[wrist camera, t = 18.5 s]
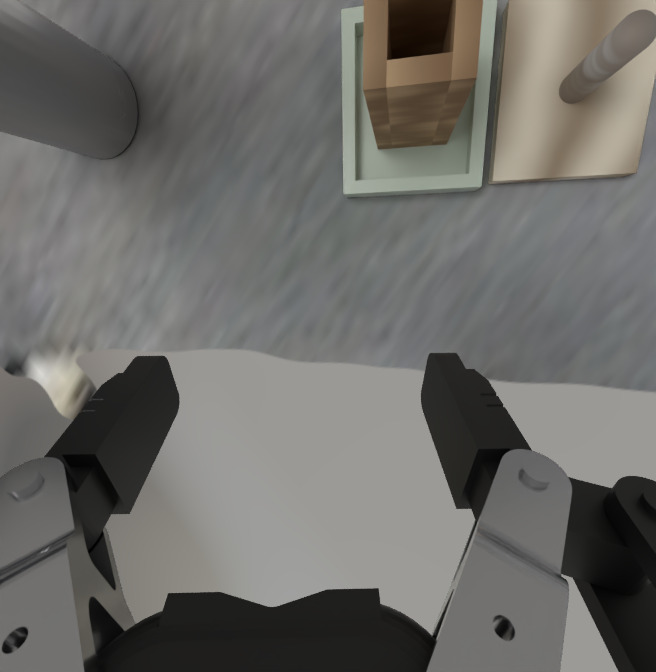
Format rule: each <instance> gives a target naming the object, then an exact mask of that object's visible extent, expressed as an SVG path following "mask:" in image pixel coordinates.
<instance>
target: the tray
mask: <svg viewBox="0 0 656 672" xmlns="http://www.w3.org/2000/svg"><path fill="white" fill-rule="evenodd" d="M496 9H497V0H483V9H482V21H481V34H480V46H479V58H478V71H477V79H476V81H475V83H474V85H473V87H472V90H471V92H470V94H469V96H468V98H467V101H466V103H465V105H464V107H463V109H462V111H461V114H460V116H459V118H458V120H457V122H456V125H455V127H454V129H453V131H452V133H451V136H450V138H449V140H448V142H447V144H446V145H432V146H419V147H405V148H392V149H378V148H377V144H376V140H375V136H374V132H373V128H372V124H371V120H370V116H369V112H368V108H367V104H366V100H365V96H364V92H363V25H364V6H359V7H353V8H347V9H341V23H342V113H343V194H344V195H345V196H346V197H347V198H355V197H374V196H393V195H412V194H431V193H450V192H469V191H476V190H477V189H479V188H480V187H482V175H483V163H484V151H485V139H486V127H487V116H488V104H489V92H490V80H491V68H492V56H493V44H494V33H495V21H496Z"/></svg>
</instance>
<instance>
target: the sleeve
mask: <svg viewBox="0 0 656 672" xmlns="http://www.w3.org/2000/svg"><path fill="white" fill-rule="evenodd" d="M482 9H483V0H364V25H363V92H364V96H365V100H366V104H367V108H368V112H369V116H370V120H371V124H372V128H373V132H374V136H375V140H376V144H377V148H378V149H392V148H405V147H419V146H432V145H446V144H447V142H448V140H449V138H450V136H451V133H452V131H453V129H454V127H455V125H456V122H457V120H458V118H459V116H460V114H461V111H462V109H463V107H464V105H465V103H466V101H467V98H468V96H469V94H470V92H471V90H472V87H473V85H474V83H475V81H476V79H477V71H478V58H479V46H480V34H481V21H482Z"/></svg>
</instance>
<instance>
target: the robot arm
mask: <svg viewBox="0 0 656 672" xmlns="http://www.w3.org/2000/svg"><path fill="white" fill-rule="evenodd" d="M137 117H138V111H137V101H136V97H135V92H134V90H133V87H132V85H131V82H130V80H129V79H128V77H127V75H126V74H125V72H124V71H123V70H122V69H121V68H120V66H119V65H118V64H117V63H115V62H114V61H113V60H111V59H110V58H108V57H107V56H105V55H104V54H102V53H101V52H99V51H97V50H96V49H94V48H93V47H91V46H89V45H88V44H86V43H85V42H83V41H82V40H80V39H78V38H77V37H76V36H74V35H73V34H71V33H69V32H68V31H66V30H65V29H63V28H62V27H60V26H58V25H57V24H55V23H54V22H52V21H51V20H49V19H47V18H46V17H44V16H43V15H41V14H40V13H38V12H36V11H35V10H33V9H32V8H30V7H29V6H27V5H25V4H24V3H22V2H21V1H19V0H0V131H1V132H4V133H8V134H11V135H15V136H18V137H22V138H25V139H29V140H33V141H36V142H40V143H43V144H47V145H50V146H54V147H57V148H60V149H64V150H68V151H71V152H75V153H78V154H82V155H85V156H89V157H93V158H98V159H109V158H112V157H115V156H117V155H119V154H120V153H121V152H123V151H124V150H125V149H126V147H127V146H128V145H129V144H130V142H131V140H132V138H133V136H134V133H135V129H136V126H137ZM421 404H422V409H423V413H424V415H425V418H426V421H427V424H428V427H429V430H430V433H431V436H432V439H433V442H434V445H435V447H436V450H437V453H438V456H439V459H440V462H441V465H442V468H443V471H444V474H445V477H446V480H447V482H448V485H449V488H450V491H451V494H452V497H453V500H454V503H455V506H456V508H457V509H468V508H469V509H472V511H473V514H474V517H475V522H474V524H473V527H472V530H471V532H470V535H469V538H468V540H467V543H466V546H465V548H464V551H463V554H462V557H461V559H460V562H459V565H458V567H457V570H456V573H455V575H454V578H453V581H452V583H451V586H450V589H449V591H448V594H447V596H446V599H445V602H444V604H443V606H442V609H441V612H440V614H439V617H438V619H437V622H436V625H435V627H434V630H433V632H432V635H430V634H429V633H428V632H427V631H426V630H425V629H424V628H423V627H422V626H420V625H419V624H418V623H417V622H415V621H414V620H413V619H411V618H409V617H408V616H406V615H405V614H403V613H401V612H399V611H397V610H395V609H392V608H390V607H387V606H385V605H382V604H380V597H379V589H378V588H376V589H333V590H325V591H322V592H319V593H316V594H313V595H310V596H307V597H304V598H301V599H298V600H295V601H292V602H289V603H286V604H283V605H280V606H277V607H267V606H263V605H260V604H257V603H254V602H251V601H247V600H244V599H241V598H238V597H234V596H231V595H228V594H224V593H221V592H204V593H169V594H168V596H167V599H166V602H165V605H164V608H163V611H161V612H158V613H156V614H154V615H152V616H150V617H148V618H145V619H144V620H142V621H140V622H139V623H137V624H135V621H134V619H133V616H132V614H131V612H130V610H129V607H128V606H127V603H126V601H125V598H124V595H123V591H122V587H121V583H120V579H119V575H118V571H117V566H116V562H115V558H114V554H113V550H112V546H111V542H110V538H109V534H108V531H107V529H106V527H105V525H106V523H107V521H108V519H109V517H110V515H111V514H130V512H131V510H132V507H133V505H134V503H135V501H136V499H137V497H138V495H139V493H140V490H141V488H142V486H143V484H144V482H145V480H146V478H147V476H148V474H149V472H150V470H151V467H152V465H153V463H154V461H155V459H156V457H157V455H158V453H159V451H160V448H161V446H162V444H163V442H164V440H165V438H166V436H167V434H168V432H169V430H170V427H171V425H172V423H173V421H174V419H175V417H176V415H177V412H178V409H179V393H178V390H177V387H176V384H175V381H174V378H173V375H172V371H171V368H170V365H169V362H168V360H167V358H166V357H165V356H137V357H135V358H134V359H133V361H132V362H131V363H130V365H129V366H128V367H127V369H126V370H125V371H124V372H123V373H118V374H116V375H115V376H114V377H112V378H111V379H110V380H108V381H107V382H105V383H104V384H103V385H101V387H100V388H99V389H98V390H97V392H96V393H95V394H94V395H93V397H92V398H91V401H89V402H88V403H87V404H86V405H85V407H84V408H83V409H82V413H79V414H78V415H77V417H76V418H75V419H74V420H73V422H72V423H71V424H70V425H69V427H68V428H67V429H66V430H65V432H64V433H63V434H62V435H61V437H60V438H59V439H58V441H57V442H56V443H55V444H54V445H53V447H52V448H51V449H50V450H49V452H48V453H47V454H46V455H45V457H43V458H37V459H34V460H30V461H28V462H25V463H23V464H21V465H19V466H17V467H15V468H13V469H11V470H10V471H8V472H7V473H6V474H4V475H3V476H2V477H1V478H0V672H560V666H561V658H562V649H563V642H564V633H565V625H566V616H567V608H568V599H569V586H568V582H567V580H566V579H564V578H563V577H561V574H563V575H566V576H569V577H573V579H574V581H575V583H576V585H577V587H578V589H579V591H580V593H581V596H582V597H583V600H584V601H585V603H586V606H587V608H588V610H589V612H590V614H591V616H592V618H593V620H594V622H595V624H596V626H597V628H598V630H599V632H600V634H601V636H602V638H603V641H604V642H605V644H606V647H607V649H608V651H609V653H610V655H611V656H612V659H613V661H614V663H615V665H616V667H617V669H618V671H619V672H656V482H655V481H653V480H650V479H646V478H643V477H638V476H626V477H623V478H621V479H619V480H618V481H617V483H616V484H615V485H614V487H613V488H608V487H604V486H600V485H596V484H592V483H588V482H584V481H580V480H576V479H573V478H570V477H567V475H566V473H565V472H564V471H563V470H562V468H561V467H559V466H558V465H557V464H556V463H555V462H554V461H552V460H551V459H549V458H548V457H546V456H544V455H541V454H540V453H537V452H535V451H532V450H531V448H530V447H529V445H528V443H527V442H526V440H525V439H524V437H523V436H522V434H521V432H520V431H519V429H518V427H517V426H516V424H515V423H514V421H513V419H512V418H511V416H510V415H509V414H508V411H507V410H506V409H505V407H503V403H502V402H501V400H500V399H499V397H498V396H496V392H495V391H494V389H493V388H492V387H491V384H490V383H489V381H488V380H487V379H486V378H484V377H483V376H482V375H481V374H479V373H478V372H477V371H476V370H475V369H466V368H465V367H464V365H463V363H462V361H461V360H460V358H459V356H458V355H457V354H456V353H430V354H429V356H428V360H427V365H426V370H425V375H424V381H423V385H422V390H421Z"/></svg>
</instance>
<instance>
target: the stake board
mask: <svg viewBox="0 0 656 672" xmlns="http://www.w3.org/2000/svg"><path fill="white" fill-rule="evenodd" d="M655 74H656V0H509V1H508V4H507V6H506V8H505V10H504V13H503V22H502V34H501V45H500V56H499V67H498V79H497V90H496V101H495V112H494V124H493V135H492V146H491V158H490V169H489V180H488V184H501V183H519V182H537V181H554V180H572V179H590V178H608V177H625V176H628V175H631V174H635V173H637V169H638V164H639V158H640V153H641V148H642V143H643V137H644V132H645V127H646V122H647V116H648V111H649V106H650V101H651V95H652V90H653V85H654V79H655Z"/></svg>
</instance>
